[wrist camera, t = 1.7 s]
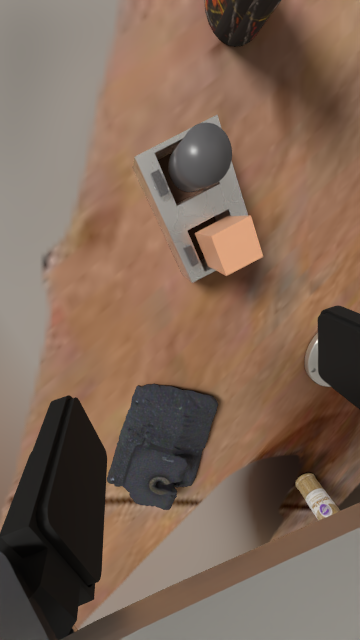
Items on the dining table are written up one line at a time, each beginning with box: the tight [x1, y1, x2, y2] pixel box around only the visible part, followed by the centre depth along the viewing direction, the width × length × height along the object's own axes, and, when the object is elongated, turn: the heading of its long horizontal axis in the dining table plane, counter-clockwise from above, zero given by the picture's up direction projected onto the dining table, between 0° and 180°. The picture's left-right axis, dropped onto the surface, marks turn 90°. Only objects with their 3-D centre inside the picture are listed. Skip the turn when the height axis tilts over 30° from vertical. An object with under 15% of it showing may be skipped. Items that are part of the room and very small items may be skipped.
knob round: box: [169, 122, 232, 192], centre depth 20 cm, size 4×4×5 cm
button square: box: [195, 215, 263, 276], centre depth 23 cm, size 4×4×5 cm
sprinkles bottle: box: [296, 473, 340, 520], centre depth 47 cm, size 5×5×13 cm
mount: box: [133, 115, 248, 283], centre depth 26 cm, size 8×12×6 cm, turn 25°
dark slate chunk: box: [107, 384, 218, 510], centre depth 39 cm, size 15×22×5 cm
